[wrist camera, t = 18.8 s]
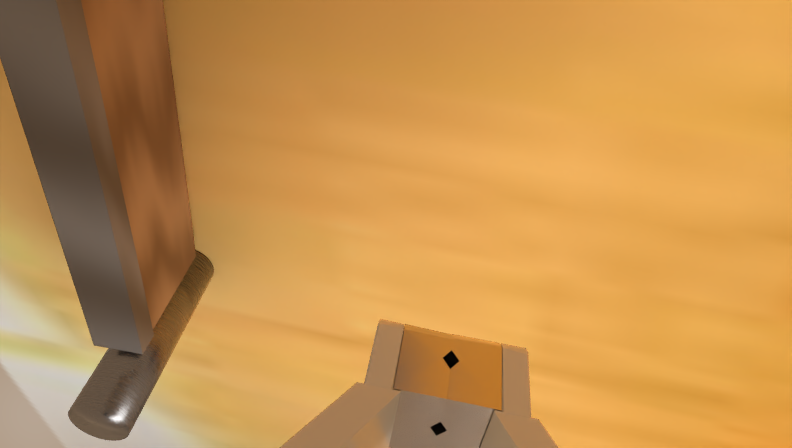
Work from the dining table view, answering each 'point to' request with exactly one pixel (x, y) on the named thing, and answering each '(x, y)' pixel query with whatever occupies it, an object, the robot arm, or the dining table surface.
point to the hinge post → (137, 365)
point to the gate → (105, 152)
